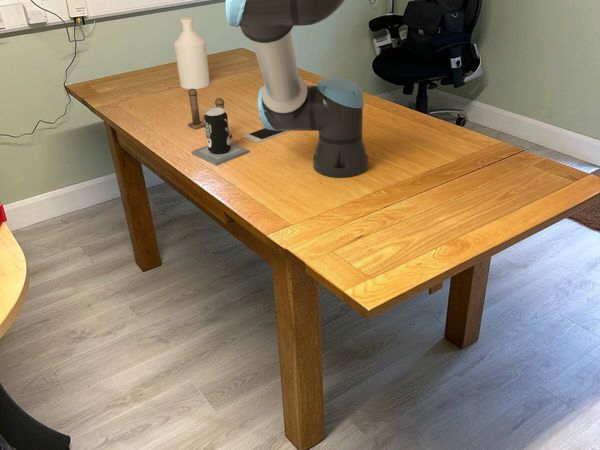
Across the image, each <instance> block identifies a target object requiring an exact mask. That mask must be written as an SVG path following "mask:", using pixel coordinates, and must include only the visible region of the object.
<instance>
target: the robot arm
mask: <svg viewBox="0 0 600 450" xmlns="http://www.w3.org/2000/svg"><path fill="white" fill-rule="evenodd" d="M345 1H346V0H225V15H226V16H225V17H226V22H227V24H228V25H229V26H230V27H234V28H238V27H240V30H241V32H242V35H244V36H245V38H247V39H248V40H250V42H251V43H252V45H253V49H254V52H255V56H256V60H257V63H258V66H259V69H260V73H261V77H262V81H263V83H264V84H263V86H261V87H260V88H259V91H258V95H257V111H258V116H259V120H260V123H261V124H262V126H263V127H264V128H266V129H269V130H276V131H289V132H291V131H295V132H296V131H300V132H301V131H306V132H308V131H311V132H312V131H313V132H318V141H317V144H316V147H315V152H314V154H313V157H312V168H313V170H315V172H316V173H318V174H321V175H322V176H326V177H331V178H348V177H349V178H350V177H351V178H352V177H356V176H358V175H361V174H363V173H364V172H366V171H367V170H368V168H369V156H368V154H367V152H366V147H365V143H364V141H363V122H364V121H363V118H364V117H363V115H364V113H363V108H364V104H365V103H364V96H363V94H364V93H363V92H364V91H363V88H362V87H361V86H360V85H359V84H358V83H356V82H354V81H352V80H349V79H345V78H340V77H339V78H338V77H328V78H322V79H319V80H318V82H317V83H316V85H307V83H306V82H305V80H304V79H303V78H302V77H301V76H300V75H299V71H298V70H299V69H298V65H297V60H296V54H295V49H294V43H293V39H292V33H291V31H292V30H293V28H294V27H295V26H299V27H301V26H312V25H315V24H318V23H320V22H322V21H324V20H326V19H328V18H329V17H330V16H332V15H333V14H335V12H336V11H337V10H338V9H339V8H341V6H342V5H343V3H344V2H345Z"/></svg>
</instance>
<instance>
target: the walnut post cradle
mask: <svg viewBox="0 0 600 450" xmlns="http://www.w3.org/2000/svg"><path fill="white" fill-rule="evenodd" d="M187 93H188V94H187V95H188V96H189V105H190V111H191V112H190V113H191V119H192V120H191V121H192V122H190V123H188V124H187V125H188V126H187V127H188V128H190V129H193V130H198V129H201V128H205V122H203V121H201V118H200V108H199V102H198V91H197V89H193V88H192V89H188V92H187ZM214 105H215V108H223V109H225V100H224V98H221V97H217V98H215V101H214ZM229 136H230V139H232V138H233V133H230V132H229Z"/></svg>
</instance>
